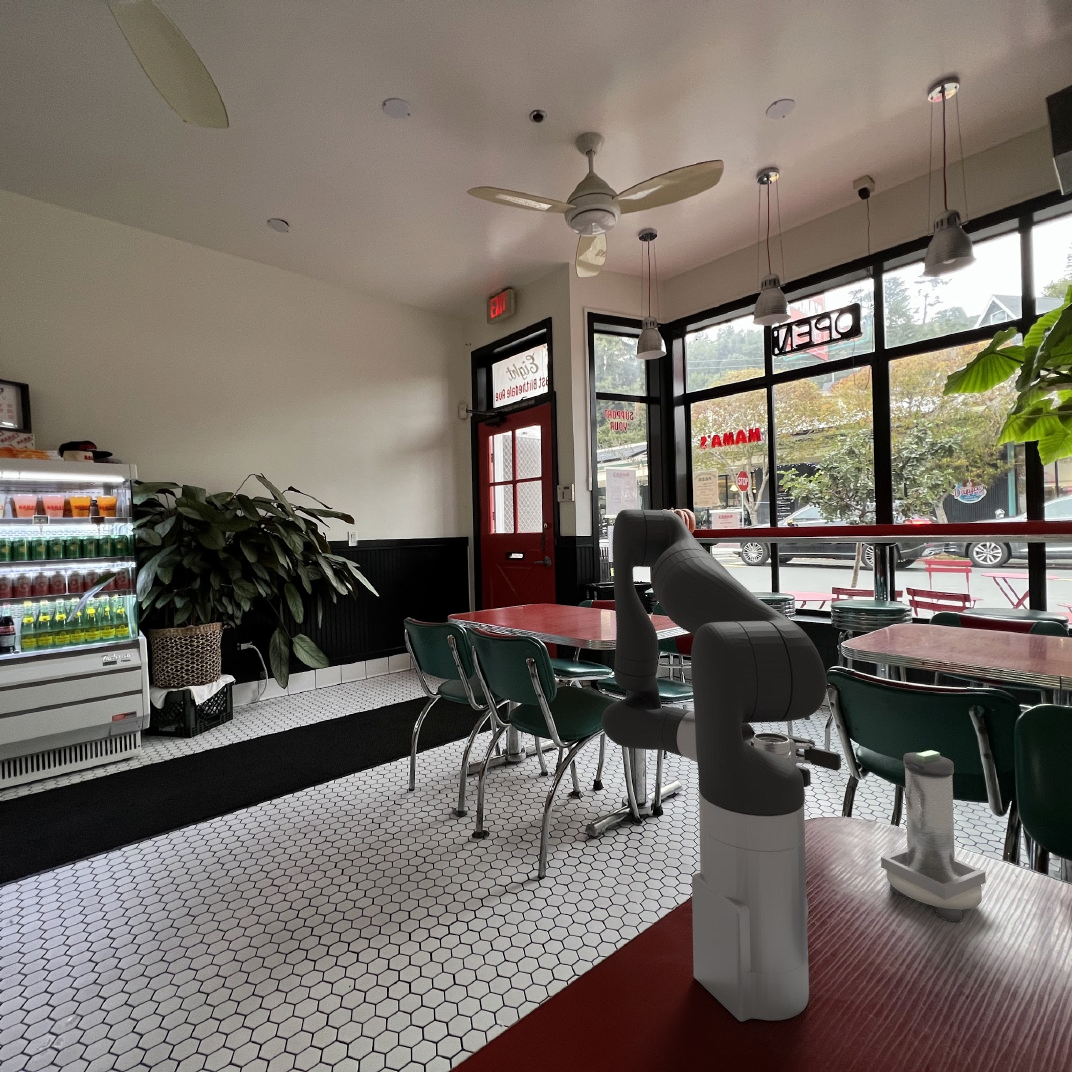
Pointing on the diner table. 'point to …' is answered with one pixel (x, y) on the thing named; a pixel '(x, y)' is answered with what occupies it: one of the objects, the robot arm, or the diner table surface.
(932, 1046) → the diner table surface
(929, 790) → the grey bottle with lid
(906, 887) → the rectangular footed bonsai pot
